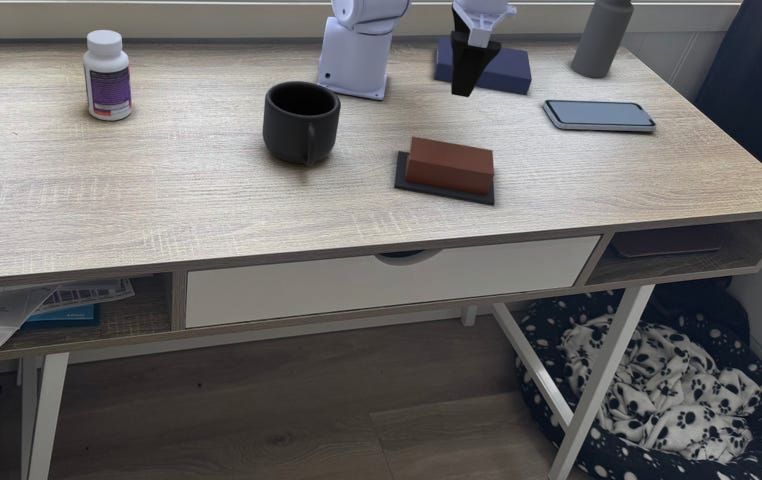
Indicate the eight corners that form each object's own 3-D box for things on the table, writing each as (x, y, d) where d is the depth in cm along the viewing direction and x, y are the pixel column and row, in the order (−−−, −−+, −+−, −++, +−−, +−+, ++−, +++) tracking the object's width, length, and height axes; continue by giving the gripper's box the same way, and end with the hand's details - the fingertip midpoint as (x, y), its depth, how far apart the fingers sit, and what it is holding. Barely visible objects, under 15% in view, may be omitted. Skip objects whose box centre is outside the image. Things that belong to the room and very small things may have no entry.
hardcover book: (433, 79, 110) (437, 63, 108) (435, 51, 117) (439, 36, 116) (526, 95, 109) (532, 79, 108) (522, 66, 117) (527, 51, 115)
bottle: (578, 58, 121) (614, -37, 111) (612, 70, 119) (652, -25, 109) (565, 69, 118) (601, -28, 107) (600, 81, 115) (640, -16, 105)
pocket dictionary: (404, 180, 88) (409, 159, 86) (407, 157, 92) (411, 135, 90) (487, 195, 88) (494, 174, 86) (485, 170, 92) (492, 150, 90)
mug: (256, 131, 93) (260, 79, 89) (325, 131, 95) (332, 80, 90) (270, 185, 85) (275, 131, 80) (345, 184, 87) (354, 131, 82)
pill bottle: (140, 113, 94) (137, 39, 87) (105, 126, 91) (98, 50, 84) (115, 96, 96) (109, 23, 89) (79, 108, 93) (71, 33, 86)
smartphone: (541, 99, 107) (638, 102, 109) (539, 105, 108) (635, 108, 110) (558, 124, 102) (659, 127, 104) (556, 130, 102) (657, 133, 104)
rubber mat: (394, 187, 88) (394, 185, 87) (398, 153, 93) (398, 150, 93) (494, 205, 87) (494, 202, 87) (491, 169, 93) (492, 167, 93)
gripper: (533, -7, 74) (494, 114, 83) (525, -53, 84) (491, 60, 94) (464, -19, 74) (433, 103, 83) (464, -63, 85) (437, 50, 94)
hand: (460, 80), depth 89 cm, fingers open, 7 cm apart
